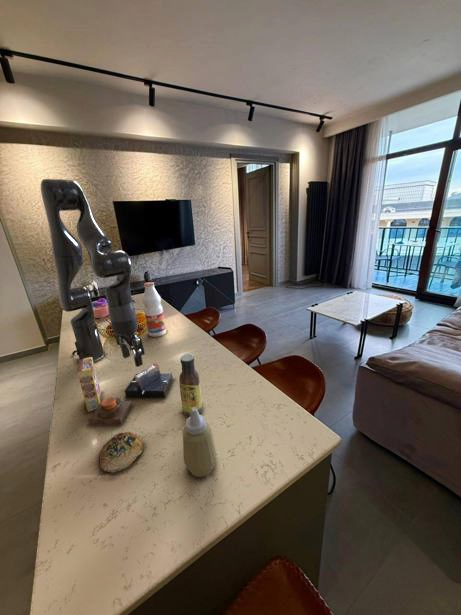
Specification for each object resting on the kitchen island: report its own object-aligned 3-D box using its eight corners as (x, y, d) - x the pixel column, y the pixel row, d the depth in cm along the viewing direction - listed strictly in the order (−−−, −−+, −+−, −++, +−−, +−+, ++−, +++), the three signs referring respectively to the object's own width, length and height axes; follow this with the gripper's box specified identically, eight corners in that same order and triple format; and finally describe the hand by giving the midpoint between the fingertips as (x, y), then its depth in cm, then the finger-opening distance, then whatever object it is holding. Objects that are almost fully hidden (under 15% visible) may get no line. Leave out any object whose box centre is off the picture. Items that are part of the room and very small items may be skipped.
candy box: (102, 408, 85) (91, 369, 80) (87, 412, 83) (75, 373, 78) (102, 392, 93) (92, 356, 87) (88, 396, 91) (77, 359, 86)
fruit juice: (166, 328, 142) (159, 280, 132) (165, 336, 134) (157, 284, 124) (149, 330, 141) (140, 281, 131) (147, 338, 132) (137, 286, 122)
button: (100, 410, 79) (99, 406, 78) (106, 401, 82) (105, 397, 82) (112, 410, 78) (111, 406, 78) (118, 401, 82) (117, 397, 82)
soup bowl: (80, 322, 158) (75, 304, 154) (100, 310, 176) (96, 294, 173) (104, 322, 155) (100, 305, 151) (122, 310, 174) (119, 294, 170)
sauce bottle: (179, 415, 80) (170, 360, 73) (189, 401, 86) (182, 350, 79) (197, 420, 78) (190, 364, 71) (206, 406, 83) (200, 353, 76)
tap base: (124, 401, 88) (122, 393, 87) (139, 377, 100) (137, 370, 99) (163, 401, 87) (162, 393, 85) (174, 377, 99) (173, 370, 98)
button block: (90, 424, 78) (87, 414, 77) (103, 406, 86) (101, 396, 84) (121, 424, 78) (118, 414, 76) (132, 406, 85) (130, 396, 84)
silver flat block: (140, 389, 88) (138, 376, 86) (137, 387, 89) (134, 375, 87) (160, 375, 95) (158, 363, 93) (157, 374, 96) (154, 362, 94)
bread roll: (113, 435, 74) (111, 422, 72) (150, 440, 73) (149, 428, 71) (89, 472, 64) (86, 459, 62) (132, 480, 63) (130, 466, 61)
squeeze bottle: (186, 453, 67) (177, 398, 61) (217, 450, 67) (211, 395, 61) (183, 484, 59) (173, 424, 53) (218, 480, 60) (212, 420, 54)
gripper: (101, 315, 81) (112, 359, 87) (122, 326, 72) (132, 374, 78) (124, 308, 86) (133, 350, 92) (145, 317, 77) (154, 363, 83)
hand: (133, 361), depth 85 cm, fingers open, 8 cm apart
